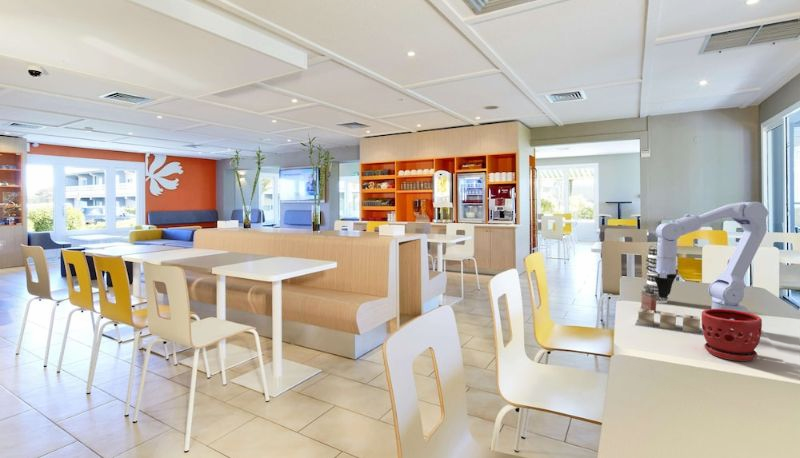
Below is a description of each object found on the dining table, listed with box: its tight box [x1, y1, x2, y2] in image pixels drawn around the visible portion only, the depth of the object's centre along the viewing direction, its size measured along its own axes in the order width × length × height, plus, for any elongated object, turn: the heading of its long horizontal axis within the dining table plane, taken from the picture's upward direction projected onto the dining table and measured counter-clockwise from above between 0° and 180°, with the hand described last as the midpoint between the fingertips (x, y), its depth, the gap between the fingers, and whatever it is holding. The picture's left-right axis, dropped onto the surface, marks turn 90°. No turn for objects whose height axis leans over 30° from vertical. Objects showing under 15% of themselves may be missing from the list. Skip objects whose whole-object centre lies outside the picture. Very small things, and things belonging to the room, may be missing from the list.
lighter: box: [640, 284, 657, 314], centre depth 164 cm, size 8×3×10 cm, turn 178°
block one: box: [682, 314, 701, 333], centre depth 138 cm, size 4×4×5 cm
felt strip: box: [634, 318, 703, 336], centre depth 142 cm, size 19×9×1 cm, turn 56°
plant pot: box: [701, 308, 763, 362], centre depth 115 cm, size 13×13×12 cm
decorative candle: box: [645, 243, 669, 304], centre depth 183 cm, size 9×9×25 cm
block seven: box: [637, 308, 655, 326], centre depth 145 cm, size 4×4×5 cm
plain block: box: [659, 311, 677, 330], centre depth 141 cm, size 4×4×4 cm
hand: (664, 295), depth 145 cm, fingers open, 7 cm apart
